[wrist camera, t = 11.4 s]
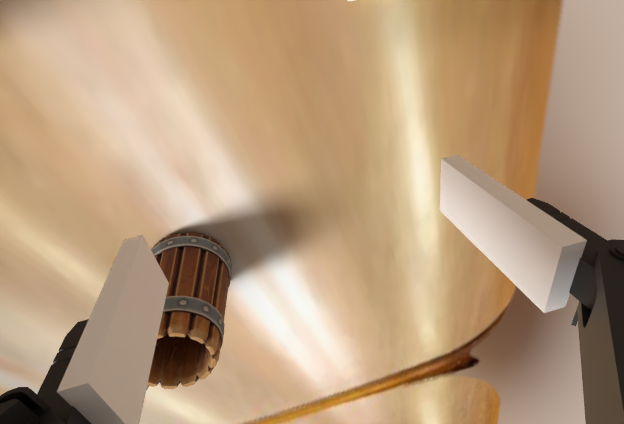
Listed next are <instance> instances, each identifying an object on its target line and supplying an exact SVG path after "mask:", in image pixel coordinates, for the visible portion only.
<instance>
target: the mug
mask: <svg viewBox="0 0 624 424" xmlns="http://www.w3.org/2000/svg"><path fill="white" fill-rule="evenodd" d="M151 251H152V253H153V255H154V257H155V259H156V260H157V262H158V264H159V266H160V268H161V270H162V271H163V273H164V275H165V277H166V279H167V281H168V282H169V285H168V290H167V294H166V299H165V304H164V309H163V313H162V318H161V323H160V327H159V332H158V337H157V342H156V346H155V351H154V356H153V360H152V365H151V370H150V374H149V379H148V384H147V389H148V387H149V386H152V387H153V386H157V384H158V383H159V382H160V384H161V386H162V388H164V389H174V388H176V387H177V386H178V385H179V383H180V382H181V384H182V386H184V387H187V386H191V385H193V384H195V383H196V382H197V380H198V379H205V378H206V377H207V376H208V375H209V374H210V373H211V371H212V370H213V368H214V367H215V365H216V364H217V361H218V359H219V353H220V348H221V346H222V343H223V335H224V315H225V307H226V300H227V292H228V287H229V285H230V280H231V270H232V265H231V262H230V257H229V254H228V253H227V251H226V249H224V248H223V247H221V244H220V243H219V242H217V241H216V240H214V239H212V238H210V237H206V236H204V235H202V234H197V233H185V234H183V233H179V234H174V235H171V236H168V237H166V238H165V240H162V241H159V242H158V243H157V244H156V245H155V246H154V247H153V248H152V250H151ZM147 389H146V390H147Z"/></svg>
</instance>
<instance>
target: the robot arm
mask: <svg viewBox="0 0 624 424" xmlns="http://www.w3.org/2000/svg"><path fill="white" fill-rule="evenodd" d="M440 211H441V212H442V213H443V214H444V215H445V216H446V217H447V218H448V219H449V220H450V221H451V222H452V223H453V224H454V225H455V226H456V227H457V228H458V229H459V230H460V231H461V232H462V233H463V234H464V235H465V236H466V237H467V238H468V239H469V240H470V241H471V242H472V243H473V244H474V245H475V246H476V247H477V248H478V249H479V250H480V251H481V252H482V253H483V254H485V255H486V256H487V257H488V258H489V259H490V260H491V261H492V262H493V263H494V264H495V265H496V266H497V267H498V268H499V269H500V270H501V271H502V272H503V273H504V274H505V275H506V276H507V277H508V278H509V279H510V280H511V281H512V282H513V283H514V284H515V285H516V286H517V287H518V288H519V289H520V290H521V291H522V292H523V293H524V294H525V295H526V296H527V297H528V298H529V299H530V300H532V302H533V303H534V304H535V305H536V306H537V307H539V309H540V310H542V311H543V312H544V313H546V312H549V311H553V310H556V309H559V308H563V307H566V304H567V301H568V298H569V294H570V293H571V294H572V295H573V296H574V297H575V298H577V299H578V300H579V304H578V307H577V310H576V313H575V316H574V318H573V322H572V325H574V326H576V324H577V321H578V327H579V340H580V353H581V365H582V380H583V393H584V404H585V405H584V406H585V419H586V424H624V240H608V241H607V240H606V239H604V238H602V237H601V236H599V235H598V234H596V233H594V232H593V231H591V230H590V229H588V228H586V227H585V226H583V225H581V224H580V223H578V222H577V221H575V220H573V219H570V217H569V216H567V215H566V214H564V213H563V212H561V213H560V211H559V210H558V209H556V208H554V207H553V206H551V205H550V204H548V203H545V202H543V201H540V200H536V199H534V198H530V199H527V200H525V199H524V198H522V197H521V196H519V195H518V194H516V193H515V192H513V191H512V190H510V189H509V188H507V187H506V186H504V185H503V184H501V183H500V182H498V181H497V180H495V179H494V178H492V177H491V176H489V175H488V174H486V173H485V172H483V171H482V170H480V169H479V168H477V167H476V166H474V165H473V164H471V163H469V162H468V161H466V160H465V159H463V158H462V157H460V156H459V155H454V156H450V157H446V158H442V159H441V186H440ZM168 285H169V282H168V281H167V279H166V277H165V275H164V273H163V271H162V270H161V268H160V266H159V264H158V262H157V260H156V259H155V257H154V255H153V253H152V251H151V249H150V248H149V246H148V244H147V242H146V240H145V238H144V237H143V235H141V236H137V237H133V238H129V239H125V240H124V241H123V243H122V245H121V248H120V250H119V252H118V254H117V257H116V259H115V261H114V263H113V266H112V268H111V270H110V272H109V275H108V277H107V279H106V282H105V284H104V286H103V288H102V291H101V293H100V295H99V297H98V300H97V302H96V304H95V306H94V309H93V311H92V313H91V316H90V318H89V319H88V320H84V321H81V322H78V323H77V324H76V325H75V326H74V327H73V328H72V330H71V331H70V332H69V333H68V334H67V335H66V337H65V339H64V341H63V343H62V345H61V347H60V349H59V353H57V355H56V357H55V359H54V361H53V363H54V364H53V365H51V367H50V369H49V371H48V373H47V375H46V377H45V380H44V382H43V384H42V386H41V388H40V390H39V392H38V394H36V393H35V392H33V391H32V390H31V389H29V388H28V387H18V388H15V389H12V390H10V391H7V392H6V393H4V394H2V395H1V396H0V424H139V421H140V417H141V412H142V407H143V403H144V398H145V393H146V389H147V384H148V379H149V374H150V370H151V365H152V360H153V356H154V351H155V346H156V342H157V337H158V332H159V327H160V323H161V318H162V313H163V309H164V304H165V299H166V294H167V290H168Z"/></svg>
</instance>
